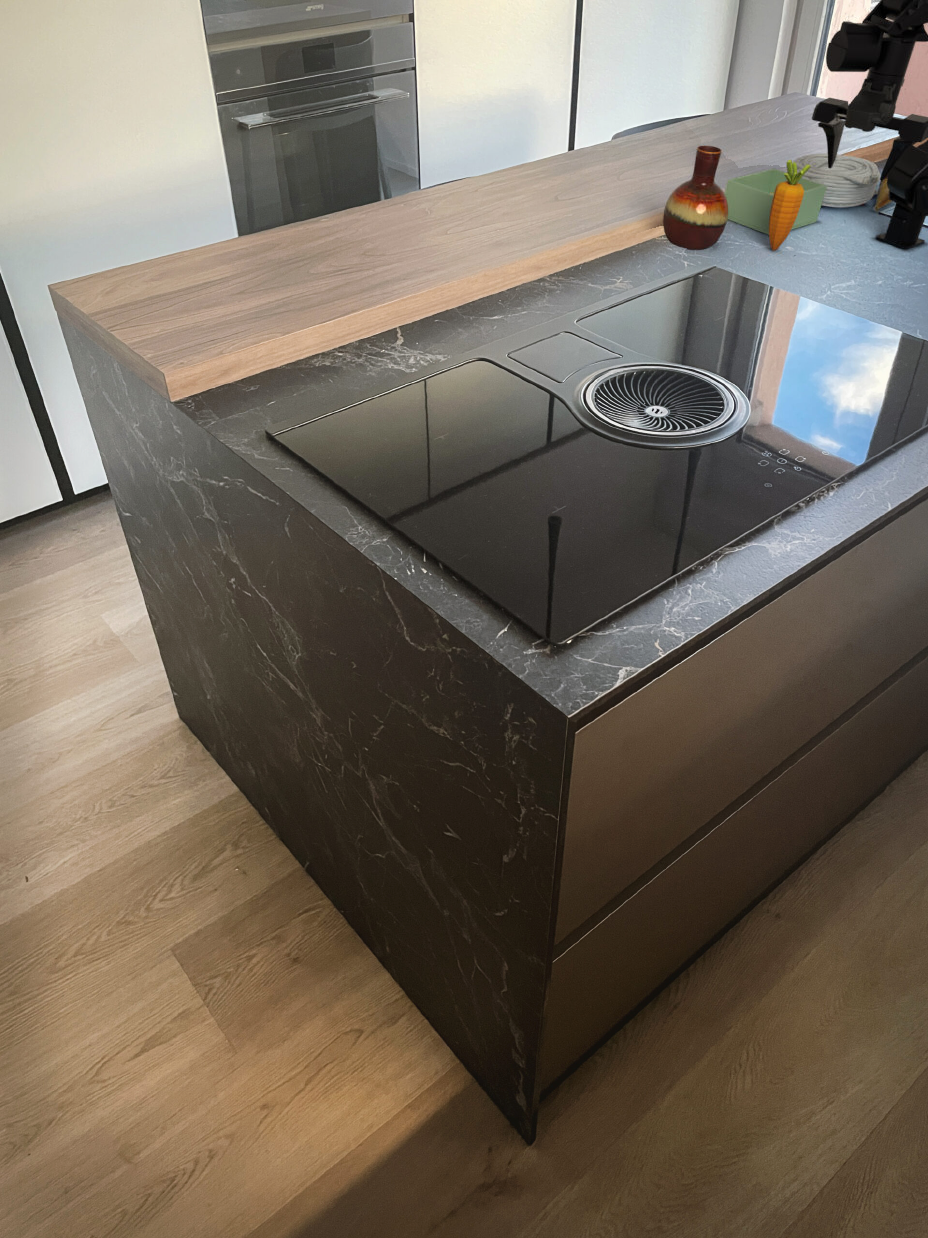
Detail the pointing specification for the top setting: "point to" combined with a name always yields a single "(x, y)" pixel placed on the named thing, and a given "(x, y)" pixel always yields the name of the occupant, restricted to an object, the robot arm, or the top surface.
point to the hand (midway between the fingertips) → (855, 173)
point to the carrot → (785, 205)
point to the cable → (841, 178)
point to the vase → (697, 205)
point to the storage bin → (768, 199)
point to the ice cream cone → (882, 195)
